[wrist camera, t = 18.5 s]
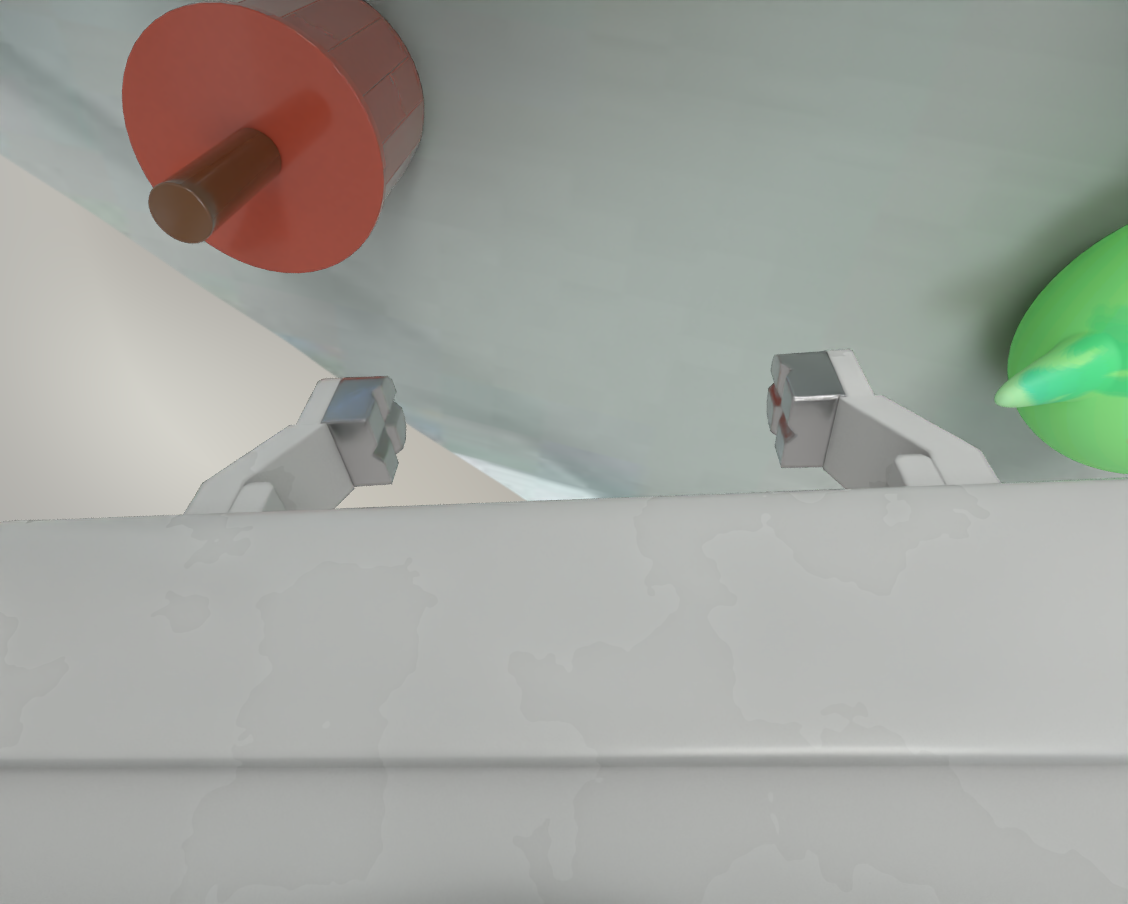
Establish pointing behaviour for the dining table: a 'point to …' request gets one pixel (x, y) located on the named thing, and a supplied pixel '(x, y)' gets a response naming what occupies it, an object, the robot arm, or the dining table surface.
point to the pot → (366, 68)
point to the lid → (252, 138)
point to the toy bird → (1077, 359)
